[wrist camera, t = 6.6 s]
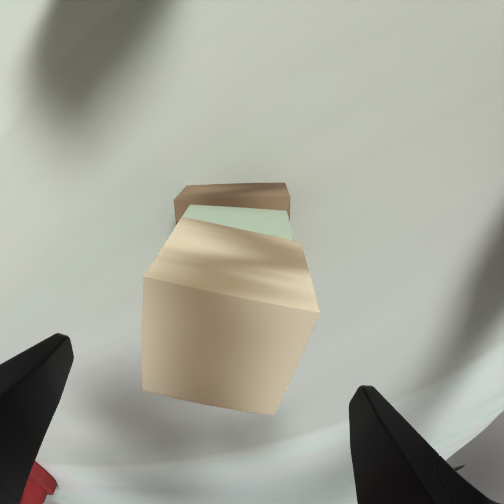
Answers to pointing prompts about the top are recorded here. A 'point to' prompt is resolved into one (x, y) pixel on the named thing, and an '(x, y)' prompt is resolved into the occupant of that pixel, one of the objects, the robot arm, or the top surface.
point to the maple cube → (225, 316)
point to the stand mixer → (38, 486)
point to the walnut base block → (234, 197)
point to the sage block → (244, 219)
